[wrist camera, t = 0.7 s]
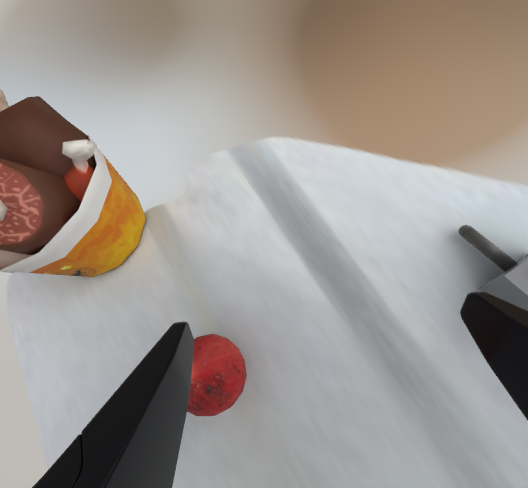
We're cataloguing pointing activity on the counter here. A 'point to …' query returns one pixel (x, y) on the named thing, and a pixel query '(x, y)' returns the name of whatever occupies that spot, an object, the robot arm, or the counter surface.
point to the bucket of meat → (60, 197)
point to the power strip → (515, 273)
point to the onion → (215, 375)
